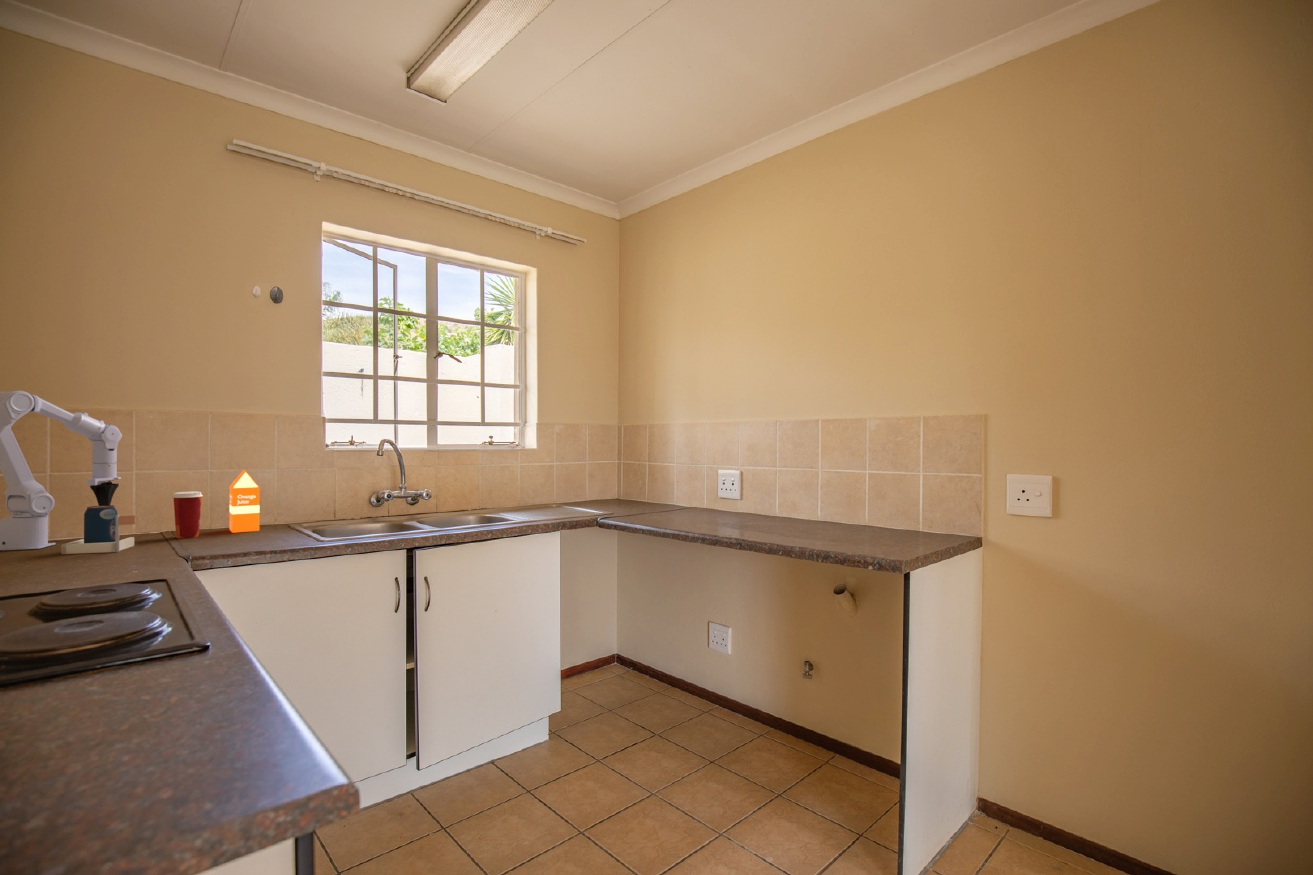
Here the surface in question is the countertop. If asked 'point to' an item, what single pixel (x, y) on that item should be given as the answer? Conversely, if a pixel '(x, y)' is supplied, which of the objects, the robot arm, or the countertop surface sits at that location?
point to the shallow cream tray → (102, 547)
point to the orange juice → (244, 504)
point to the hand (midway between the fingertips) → (104, 507)
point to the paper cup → (187, 514)
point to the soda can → (100, 524)
